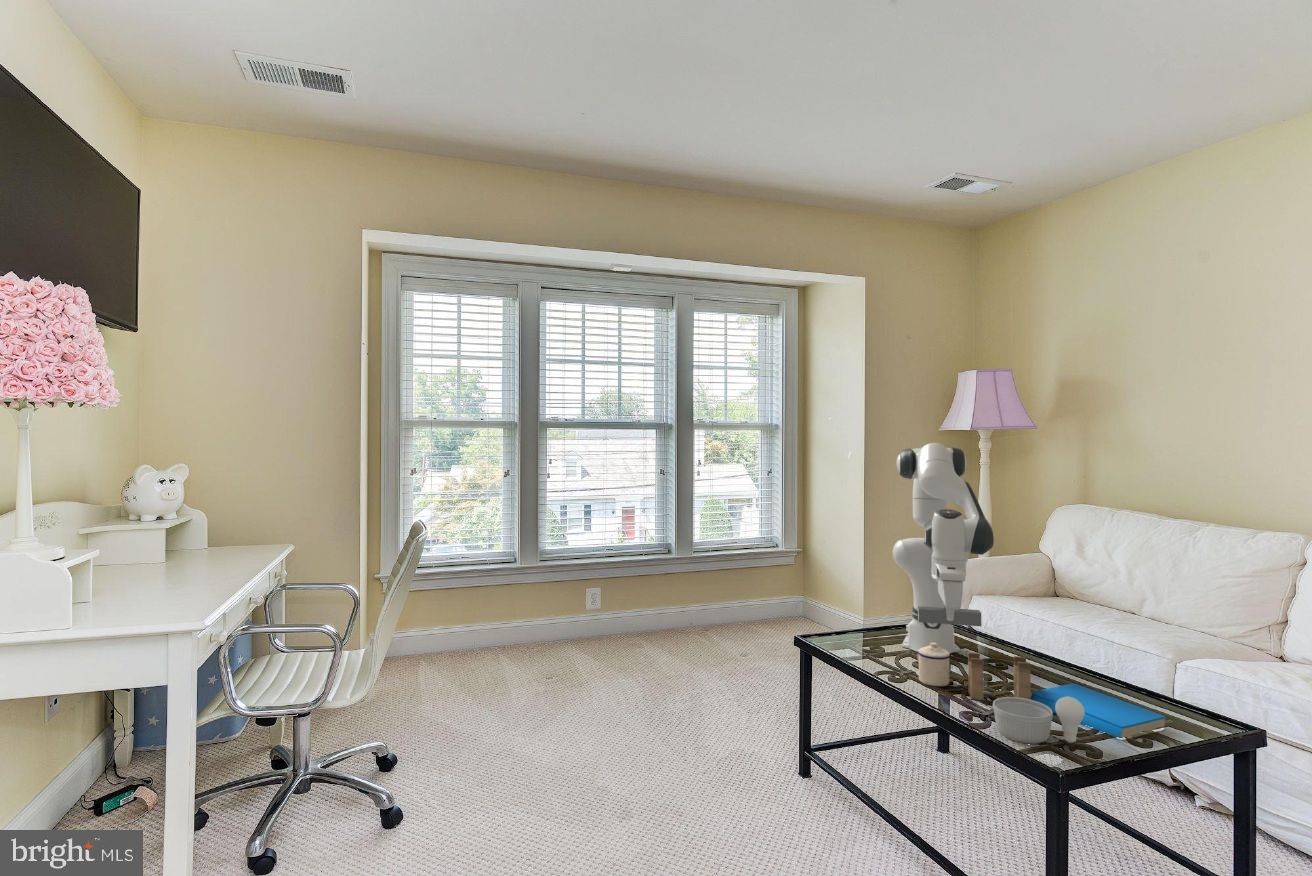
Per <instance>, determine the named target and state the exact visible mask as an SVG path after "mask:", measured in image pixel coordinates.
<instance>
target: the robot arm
mask: <svg viewBox="0 0 1312 876" xmlns="http://www.w3.org/2000/svg"><path fill="white" fill-rule="evenodd" d="M964 452H965V451H964V450H962V448H958V447H952V446H951V447H946V446H945V445H943V444H942V443H938V442H930V443H926V444H925V445H924V446H922V447H919V448H917V447H916V448H911V447H909V448H905V449H902V450H900V452H899V453H898V456H897V457H896V463H895V464H896V469H897V472H898V473H899V475H900V476H901V478H904V479H908V480H912V479H913V484H912V518H913V521H914V522H915V524H917V525H918V526H921V527H923V528H924V537H909V538H908V537H907V538H904V539H899V540H897V541H896V542H895V543H894V545H893V548H892V558H893V560H894V562H895V564H896V565H897V566H898V567H900V569H902V570H903V571H904V573H906V574H907V576H908V578H909V579H910V581H911V585H912V591H913V592H912V593H913V595H912V596H913V607H912V609H911V614H912V619H911V621H910V622H909V623H908V624H906V625H905V627H906V628H905V631H906V632H908V633H906V636H905V638H904V640H903V642H902V643H901V644H902V645H901V647H902V648H906V649H910V650H912V651H914V652H917V653H918V650H919V649H920V648H923V647H927V646H930V644H931V643H937V646H938V647H940V648H942V649H944V650H946V651H948V652H949V654H950V655H951V654H952V653H959V652H961V648H960V646H958V645H957V644H956V643H955V628H954V626H953V624H938V623H924V622H919V621H918V606H922V607H938V608H946V619H947V620H948V621H953V620H954V611H955V610H959V609H962V608H961V607H962V602H963V601H962V599H963V590H964V589H963V588H964V585H963V584H964V582H965V581H966V575H967V569H966V568H967V562H968V561H969V557H970V555H969V554H972V555H973V554H974V555H981V556H983V555H984V554H986V553H988V552H989V551H990V550H992V549H993V547H994V543H995V535H994V531H993V528H992V526H991V524H990V522H989V521H988V519H987V518H986V516H985V514H984V511H983V509H982V508H981V505H980V503H979V501H978V499H977V496H976V494H975V492H974V490H973V488H972V486H971V484H970V483H969V482H967V481H965V480H964V479H962V478H961V477H963V475H964V474H965V472H966V469H967V464H968V463H967V458H966V455H965V453H964ZM947 502H950V503H953V504H955V505H958V506H959V507H960V508H962V510H963V513H964V515H965V517H966V519H965V518H964V515H963V513H962V512H960V511H959V510H956V509H949V508H948V507H947ZM933 575H934V576H935V577H936V578H934V577H933Z"/></svg>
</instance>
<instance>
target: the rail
mask: <svg viewBox="0 0 1312 876" xmlns="http://www.w3.org/2000/svg"><path fill="white" fill-rule="evenodd" d="M918 621H919V622H924V623H938V624H951V625H952V626H953V625H954V626H970V627H982V612H981V610H979V609H967V608H966V609H965V608H960V609H959V610H955V611H954V620H953V621H948V620H947V619H946V608H938V607H922V606H918Z"/></svg>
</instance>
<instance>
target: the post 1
mask: <svg viewBox="0 0 1312 876" xmlns="http://www.w3.org/2000/svg"><path fill="white" fill-rule="evenodd" d="M967 667H968V668H967V675H968V677H967V683H968V684H967V687H968V688H967V689H968V694H969V696H970V699H971V700H978V701H979V700H980V701H984V659H983V658H981V653H979V652H967Z"/></svg>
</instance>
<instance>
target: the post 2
mask: <svg viewBox="0 0 1312 876" xmlns="http://www.w3.org/2000/svg"><path fill="white" fill-rule="evenodd" d="M1031 671H1032V669H1031V663H1030V662H1027V658H1026V656H1018V655H1013V697H1017V698H1024V699H1029V700H1031V695H1032V693H1031V689H1032V688H1031V687H1032V685H1031V684H1032V683H1031V682H1032V681H1031V680H1032V679H1031V676H1032V675H1031V674H1032V673H1031Z"/></svg>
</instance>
